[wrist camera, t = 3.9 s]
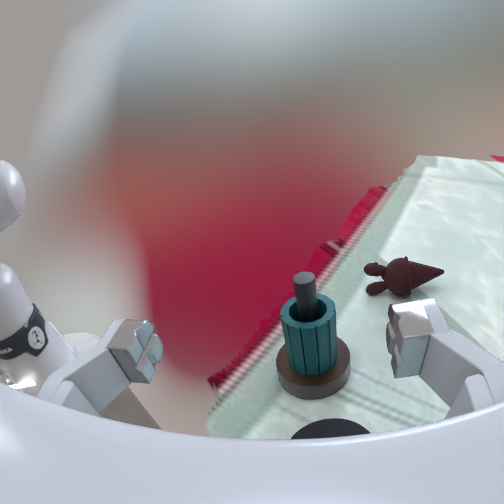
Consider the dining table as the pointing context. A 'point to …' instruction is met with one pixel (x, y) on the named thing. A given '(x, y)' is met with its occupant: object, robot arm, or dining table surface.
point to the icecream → (400, 276)
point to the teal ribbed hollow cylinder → (310, 337)
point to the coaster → (330, 429)
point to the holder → (323, 382)
